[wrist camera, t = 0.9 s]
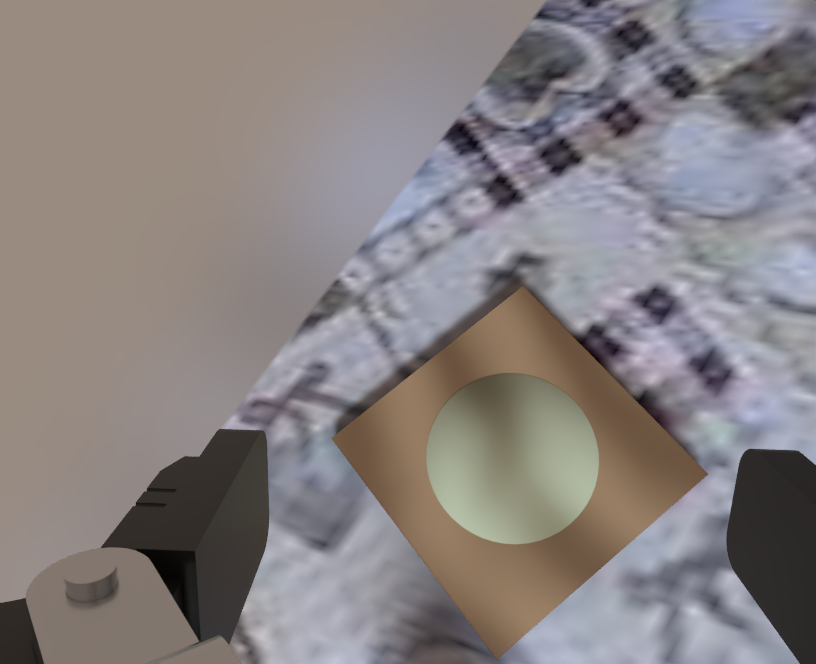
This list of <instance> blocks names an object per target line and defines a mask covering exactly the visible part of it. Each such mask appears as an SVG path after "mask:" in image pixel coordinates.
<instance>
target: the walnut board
mask: <svg viewBox="0 0 816 664" xmlns="http://www.w3.org/2000/svg"><path fill="white" fill-rule="evenodd" d="M332 440H333V441H334V443H335V444H336V445H337V447H338V448H339V449H340V451H341V452H342V453H343V455H344V456H345V457H346V459H347V460H348V461H349V463H350V464H351V465H352V467H353V468H354V469H355V471H356V472H357V473H358V475H359V476H360V477H361V479H362V480H363V481H364V483H365V484H366V485H367V487H368V488H369V489H370V491H371V492H372V493H373V495H374V496H375V497H376V499H377V500H378V501H379V503H380V504H381V505H382V507H383V508H384V509H385V511H386V512H387V513H388V515H389V516H390V517H391V519H392V520H393V521H394V523H395V524H396V525H397V527H398V528H399V529H400V531H401V532H402V534H403V535H404V536H405V538H406V539H407V540H408V542H409V543H410V544H411V546H412V547H413V548H414V550H415V551H416V552H417V554H418V555H419V556H420V558H421V559H422V560H423V562H424V563H425V564H426V566H427V567H428V568H429V570H430V571H431V572H432V574H433V575H434V576H435V578H436V579H437V580H438V582H439V583H440V584H441V586H442V587H443V588H444V590H445V591H446V592H447V594H448V595H449V596H450V598H451V599H452V600H453V602H454V603H455V604H456V606H457V607H458V608H459V610H460V611H461V612H462V614H463V615H464V616H465V618H466V619H467V621H468V622H469V623H470V625H471V626H472V627H473V629H474V630H475V631H476V633H477V634H478V635H479V637H480V638H481V639H482V641H483V642H484V643H485V645H486V646H487V647H488V649H489V650H490V651H491V653H492V654H493V655H494V657H495V658H496V659H498V658H499V657H500V656H501V655H502V654H503V653H505V652H506V651H507V650H508V649H509V648H510V647H511V646H513V645H514V644H515V643H516V642H517V641H518V640H519V639H521V638H522V637H523V636H524V635H525V634H526V633H527V632H529V631H530V630H531V629H532V628H533V627H534V626H535V625H537V624H538V623H539V622H540V621H541V620H542V619H543V618H545V617H546V616H547V615H548V614H549V613H550V612H551V611H553V610H554V609H555V608H556V607H557V606H558V605H559V604H561V603H562V602H563V601H564V600H565V599H566V598H567V597H569V596H570V595H571V594H572V593H573V592H574V591H575V590H577V589H578V588H579V587H580V586H581V585H582V584H583V583H585V582H586V581H587V580H588V579H589V578H590V577H591V576H593V575H594V574H595V573H596V572H597V571H598V570H599V569H601V568H602V567H603V566H604V565H605V564H606V563H607V562H609V561H610V560H611V559H612V558H613V557H614V556H615V555H617V554H618V553H619V552H620V551H621V550H622V549H623V548H625V547H626V546H627V545H628V544H629V543H630V542H631V541H632V540H634V539H635V538H636V537H637V536H638V535H639V534H640V533H642V532H643V531H644V530H645V529H646V528H647V527H648V526H650V525H651V524H652V523H653V522H654V521H655V520H656V519H658V518H659V517H660V516H661V515H662V514H663V513H664V512H666V511H667V510H668V509H669V508H670V507H671V506H672V505H674V504H675V503H676V502H677V501H678V500H679V499H680V498H682V497H683V496H684V495H685V494H686V493H687V492H688V491H690V490H691V489H692V488H693V487H694V486H695V485H696V484H698V483H699V482H700V481H701V480H702V479H703V478H704V477H706V476H707V475H708V473H707V472H706V471H705V470H704V469H703V468H702V467H701V466H700V465H699V464H698V463H697V462H696V461H695V460H694V459H693V458H692V457H691V456H690V455H689V454H688V453H687V452H686V451H685V450H684V449H683V448H682V447H681V446H680V445H679V444H678V443H677V442H676V441H675V440H674V439H673V438H672V437H671V436H670V435H669V434H668V433H667V432H666V431H665V430H664V429H663V428H662V427H661V426H660V425H659V424H658V423H657V422H656V421H655V420H654V419H653V418H652V417H651V415H650V414H649V413H648V412H647V411H646V410H645V409H644V408H643V407H642V406H641V405H640V404H639V403H638V402H637V401H636V400H635V399H634V398H633V397H632V396H631V395H630V394H629V393H628V392H627V391H626V390H625V389H624V388H623V387H622V386H621V385H620V384H619V383H618V382H617V381H616V380H615V379H614V378H613V377H612V376H611V375H610V374H609V373H608V372H607V371H606V370H605V369H604V368H603V367H602V366H601V365H600V364H599V363H598V362H597V361H596V360H595V359H594V358H593V357H592V356H591V354H590V353H589V352H588V351H587V350H586V349H585V348H584V347H583V346H582V345H581V344H580V343H579V342H578V341H577V340H576V339H575V338H574V337H573V336H572V335H571V334H570V333H569V332H568V331H567V330H566V329H565V328H564V327H563V326H562V325H561V324H560V323H559V322H558V321H557V320H556V319H555V318H554V317H553V316H552V315H551V314H550V313H549V312H548V311H547V310H546V309H545V308H544V307H543V306H542V305H541V304H540V303H539V302H538V301H537V300H536V299H535V298H534V297H533V296H532V295H531V293H530V292H529V291H528V290H527V289H526V288H525V287H524V286H522V287H521V288H520V289H518V290H517V291H516V292H515V293H513V294H512V295H511V296H510V297H508V298H507V299H506V300H505V301H503V302H502V303H501V304H500V305H498V306H497V307H496V308H494V309H493V310H492V311H491V312H489V313H488V314H487V315H486V316H484V317H483V318H482V319H481V320H479V321H478V322H477V323H476V324H474V325H473V326H472V327H471V328H469V329H468V330H467V331H466V332H464V333H463V334H462V335H460V336H459V337H458V338H457V339H455V340H454V341H453V342H452V343H450V344H449V345H448V346H447V347H445V348H444V349H443V350H442V351H440V352H439V353H438V354H437V355H435V356H434V357H433V358H432V359H430V360H429V361H428V362H426V363H425V364H424V365H423V366H421V367H420V368H419V369H418V370H416V371H415V372H414V373H413V374H411V375H410V376H409V377H408V378H406V379H405V380H404V381H403V382H401V383H400V384H399V385H398V386H396V387H395V388H394V389H392V390H391V391H390V392H389V393H387V394H386V395H385V396H384V397H382V398H381V399H380V400H379V401H377V402H376V403H375V404H374V405H372V406H371V407H370V408H369V409H367V410H366V411H365V412H364V413H362V414H361V415H360V416H359V417H357V418H356V419H355V420H353V421H352V422H351V423H350V424H348V425H347V426H346V427H345V428H343V429H342V430H341V431H340V432H338V433H337V434H336V435H335V436H333V437H332Z"/></svg>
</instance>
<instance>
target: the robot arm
mask: <svg viewBox="0 0 816 664" xmlns="http://www.w3.org/2000/svg"><path fill="white" fill-rule="evenodd" d="M268 528H269V494H268V461H267V440H266V435H265V432H264V431H261V430H233V429H219V430H218V431H217V432H216V433H215V435H214V436H213V438H212V439H211V441H210V442H209V444H208V445H207V446H206V448H205V449H204V451H203V452H202V454H201V455H200V457H188V456H186V457H183V458H181V459H180V460H178V461H176V462H174V463H173V464H171V465H170V466H168V467H166V468H164V469H163V470H161V471H160V472H159V474H158V475H157V476H156V477H155V479H154V480H153V481H152V482H151V484H150V485H149V487H148V488H147V492H144V493H143V494H142V496H141V497H140V498H139V499H138V500H137V502H136V506H133V507H132V508H131V510H130V511H129V512H128V513H127V515H126V516H125V517H124V518H123V520H122V521H121V522H120V524H119V525H118V526H117V527H116V529H115V530H114V532H113V533H112V534H111V535H110V536H109V538H108V539H107V540H106V542H105V543H104V544H103V545H102V547H101V548H98V549H92V550H88V551H84V552H80V553H77V554H74V555H71V556H68V557H67V558H64V559H62V560H59V561H58V562H56V563H54V564H52V565H51V566H49V567H47V568H46V569H45V570H43V571H42V572H41V573H40V574H39V575H37V577H35V579H34V580H33V581H32V582H31V584H30V585H29V587H28V589H27V593H26V598H24V599H20V600H15V601H10V602H4V603H0V664H241V663H240V661H239V659H238V658H237V656H236V655H235V653H234V652H233V650H232V649H231V647H230V646H229V644H230V641H231V638H232V636H233V633H234V630H235V628H236V625H237V622H238V620H239V617H240V615H241V612H242V609H243V607H244V604H245V601H246V599H247V596H248V593H249V591H250V588H251V586H252V583H253V580H254V578H255V575H256V572H257V570H258V567H259V564H260V562H261V559H262V557H263V554H264V551H265V547H266V542H267V536H268ZM727 552H728V557H729V560H730V563H731V566H732V568H733V570H734V572H735V573H736V575H737V576H738V577H739V579H740V580H741V582H742V583H743V584H744V586H745V587H746V589H747V590H748V591H749V593H750V594H751V596H752V597H753V598H754V600H755V601H756V603H757V604H758V605H759V607H760V608H761V610H762V611H763V612H764V614H765V615H766V617H767V618H768V619H769V621H770V622H771V624H772V625H773V626H774V628H775V629H776V631H777V632H778V633H779V635H780V636H781V638H782V639H783V640H784V642H785V643H786V645H787V646H788V647H789V649H790V650H791V652H792V653H793V654H794V656H795V657H796V659H797V660H798V661H799V663H800V664H816V465H815V464H814V463H812V462H811V461H810V460H809V459H808V458H806V457H805V456H804V455H803V454H802V453H800V452H799V451H796V450H767V449H748V450H747V451H745V452H744V454H743V455H742V457H741V460H740V463H739V468H738V473H737V479H736V484H735V490H734V496H733V501H732V507H731V512H730V518H729V523H728V529H727Z"/></svg>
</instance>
